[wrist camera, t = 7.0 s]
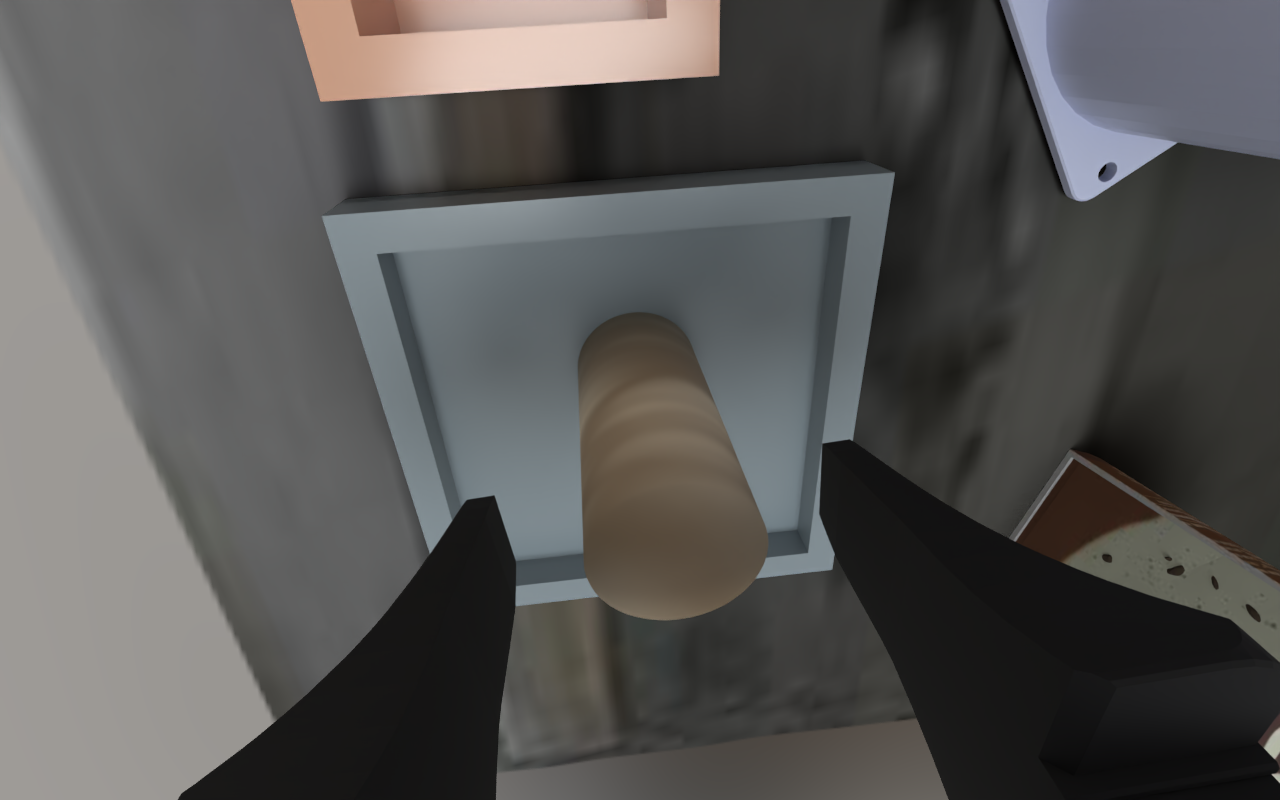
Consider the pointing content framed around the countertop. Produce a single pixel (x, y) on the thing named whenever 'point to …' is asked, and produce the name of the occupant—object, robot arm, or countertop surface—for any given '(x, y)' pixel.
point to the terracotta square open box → (502, 44)
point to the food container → (1152, 551)
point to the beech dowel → (660, 477)
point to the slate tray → (592, 294)
